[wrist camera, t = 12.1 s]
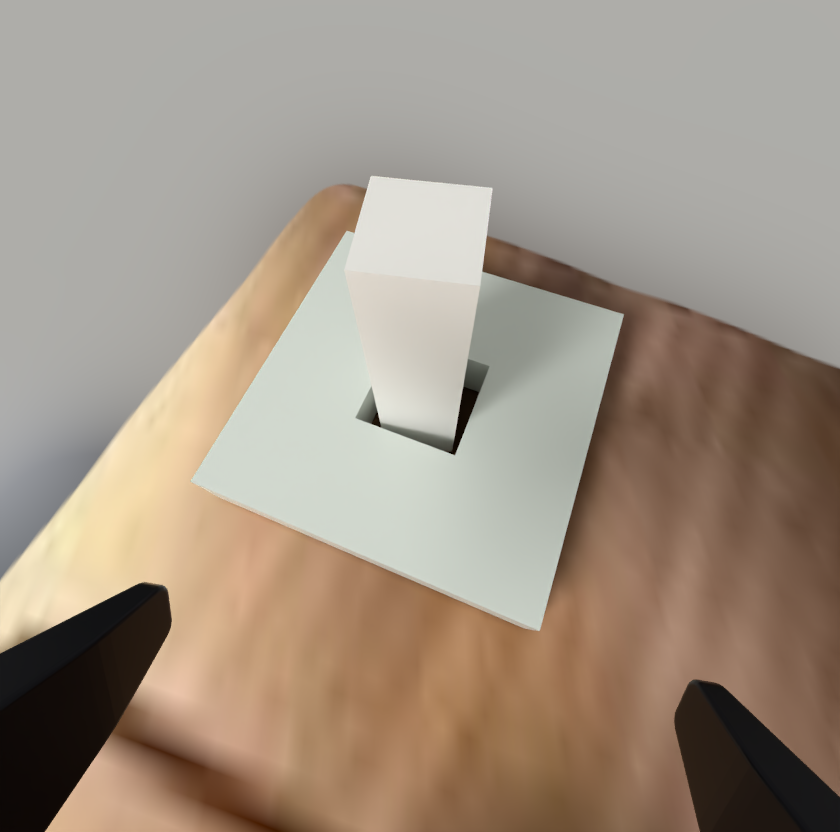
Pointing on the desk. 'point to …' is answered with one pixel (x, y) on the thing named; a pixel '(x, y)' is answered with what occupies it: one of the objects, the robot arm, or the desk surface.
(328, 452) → the socket
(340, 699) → the desk surface
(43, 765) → the robot arm
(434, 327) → the plug
